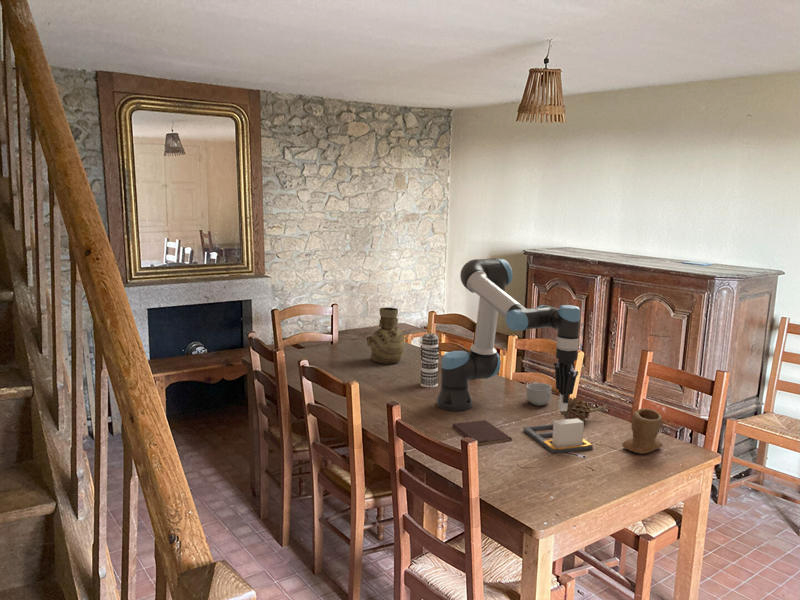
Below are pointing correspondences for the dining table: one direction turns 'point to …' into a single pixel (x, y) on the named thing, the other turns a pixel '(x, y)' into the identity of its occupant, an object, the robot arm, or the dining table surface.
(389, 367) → the dining table surface
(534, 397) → the teacup
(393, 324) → the ceramic vessel
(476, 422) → the notebook
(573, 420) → the panel
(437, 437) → the dining table surface
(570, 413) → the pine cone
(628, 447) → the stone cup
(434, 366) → the decorative candle
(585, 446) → the frame
